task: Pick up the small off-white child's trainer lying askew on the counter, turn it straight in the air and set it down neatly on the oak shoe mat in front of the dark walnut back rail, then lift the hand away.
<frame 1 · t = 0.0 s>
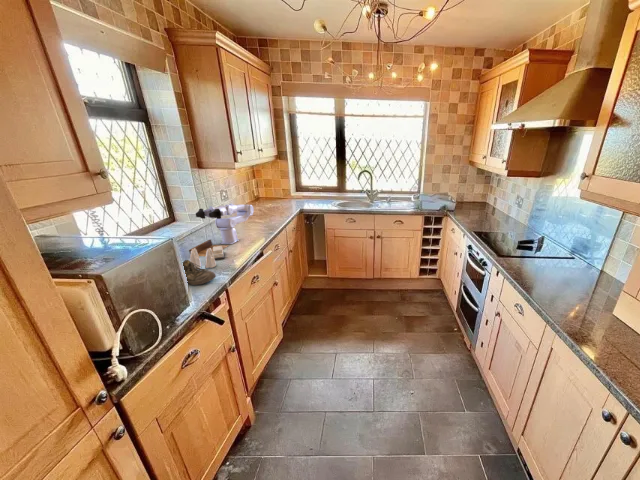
hand: (203, 215, 171), 22 cm above the countertop, tool horizontal, fingers open, 7 cm apart
shaker set: (204, 268, 158), on the countertop
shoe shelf: (210, 250, 183), on the countertop
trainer: (219, 256, 174), on the countertop
hiking shoe: (194, 282, 143), on the countertop
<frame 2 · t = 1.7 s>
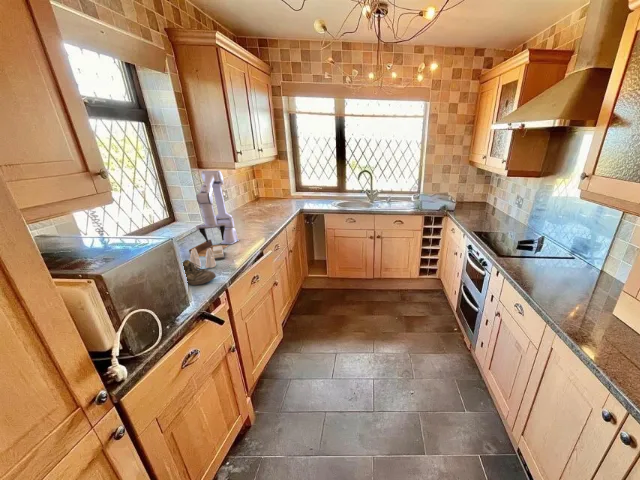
hand: (215, 240, 170), 9 cm above the countertop, tool pointing down, fingers open, 7 cm apart
nothing on the countertop moved.
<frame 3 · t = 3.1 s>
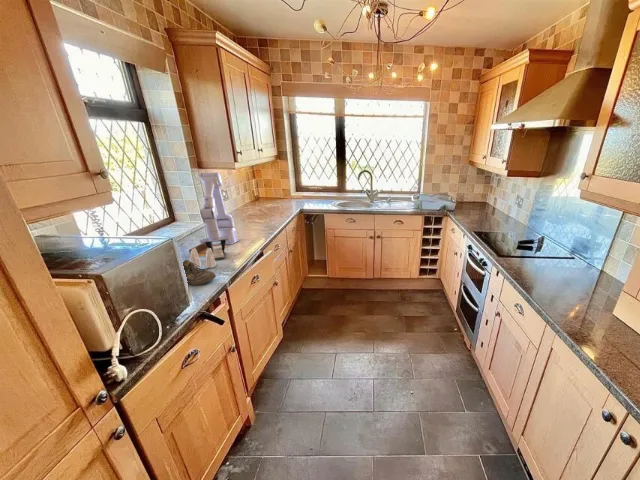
hand: (218, 254, 173), 1 cm above the countertop, tool pointing down, fingers closed on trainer, 4 cm apart
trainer: (219, 256, 174), on the countertop, touching gripper
everything else where it was.
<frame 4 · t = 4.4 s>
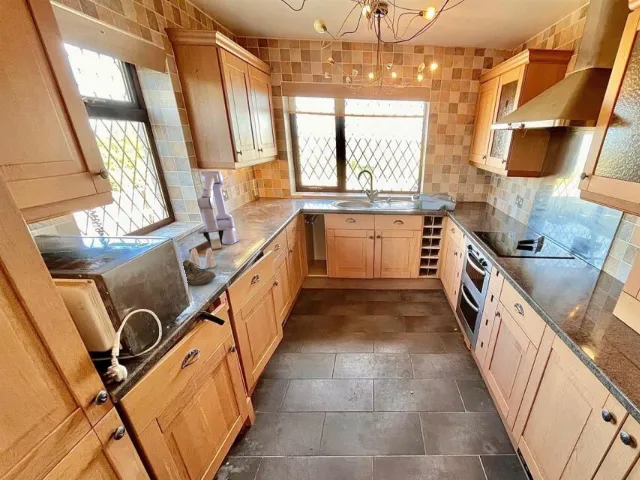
hand: (216, 244, 171), 7 cm above the countertop, tool pointing down, fingers closed on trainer, 4 cm apart
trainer: (217, 247, 171), point 5 cm above the countertop, touching gripper
everything else where it was.
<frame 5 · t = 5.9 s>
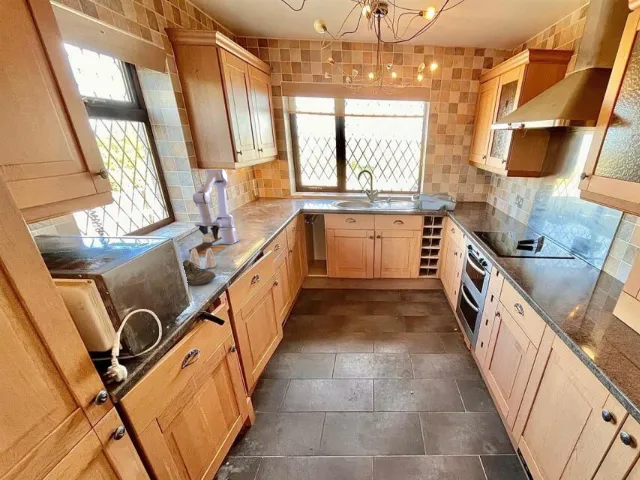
hand: (211, 238, 176), 8 cm above the countertop, tool pointing down, fingers closed on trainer, 4 cm apart
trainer: (212, 241, 177), point 7 cm above the countertop, touching gripper
everything else where it was.
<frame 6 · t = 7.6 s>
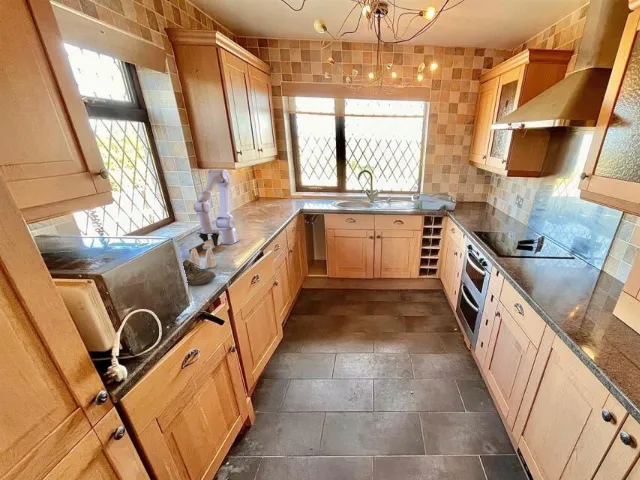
hand: (212, 245, 182), 3 cm above the countertop, tool pointing down, fingers closed on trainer, 4 cm apart
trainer: (212, 248, 183), point 2 cm above the countertop, touching gripper
everything else where it was.
when the fingers open (1 cm above the countertop, at t = 8.5 s): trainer stays where it is, resting on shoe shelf.
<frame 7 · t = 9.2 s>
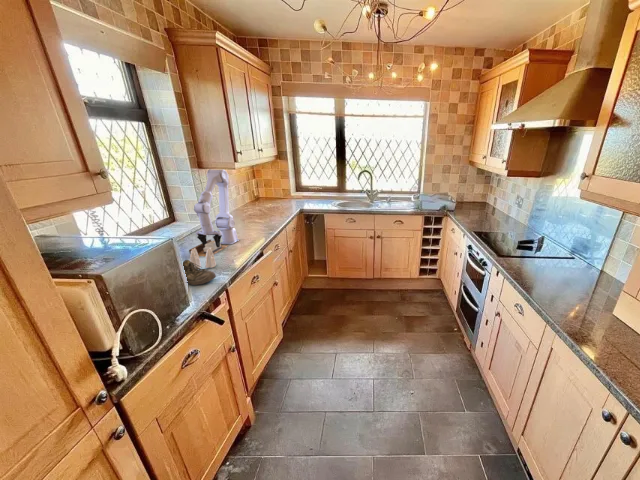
hand: (212, 246, 182), 2 cm above the countertop, tool pointing down, fingers open, 7 cm apart
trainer: (213, 250, 183), resting on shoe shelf
everything else where it was.
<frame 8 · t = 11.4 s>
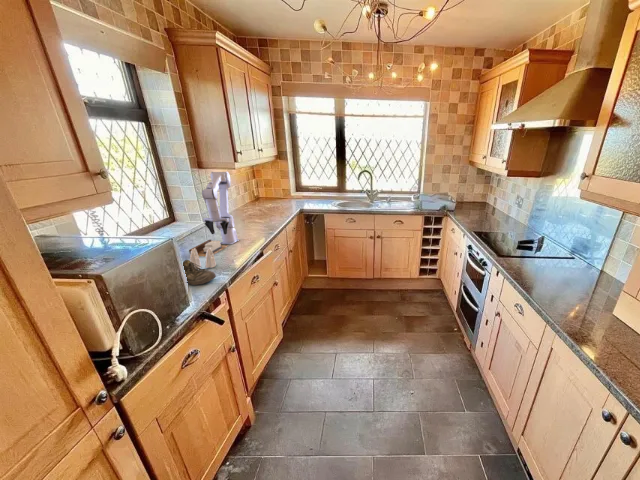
hand: (219, 233, 182), 9 cm above the countertop, tool pointing down, fingers open, 7 cm apart
nothing on the countertop moved.
at the end: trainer inside the target area on the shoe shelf (0.2 cm from its centre), point 0.0 cm above the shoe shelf's base; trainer tilted 0°; shaker set moved 0.2 cm from its start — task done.
